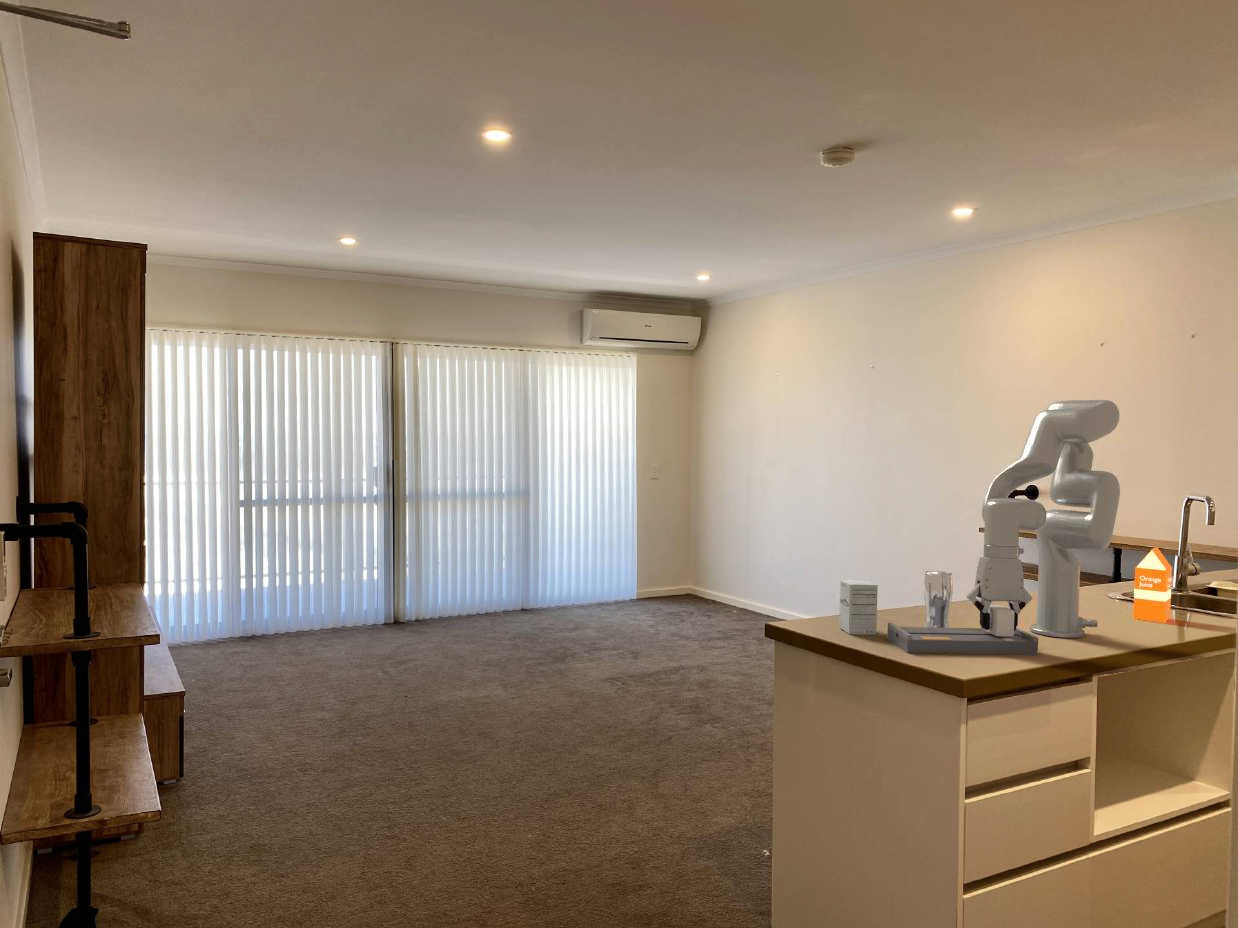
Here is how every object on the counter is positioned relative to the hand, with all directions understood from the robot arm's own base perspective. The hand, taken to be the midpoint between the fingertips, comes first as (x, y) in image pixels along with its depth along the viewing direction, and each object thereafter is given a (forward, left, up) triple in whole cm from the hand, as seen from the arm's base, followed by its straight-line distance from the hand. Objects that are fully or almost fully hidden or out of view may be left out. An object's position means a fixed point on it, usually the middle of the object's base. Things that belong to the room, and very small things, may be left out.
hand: (998, 628), depth 207 cm
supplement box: (+29, -15, -5) cm, 33 cm away
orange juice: (-61, -38, -5) cm, 72 cm away
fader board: (+9, 0, -5) cm, 10 cm away
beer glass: (+8, -17, -5) cm, 19 cm away
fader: (0, 0, -2) cm, 2 cm away
